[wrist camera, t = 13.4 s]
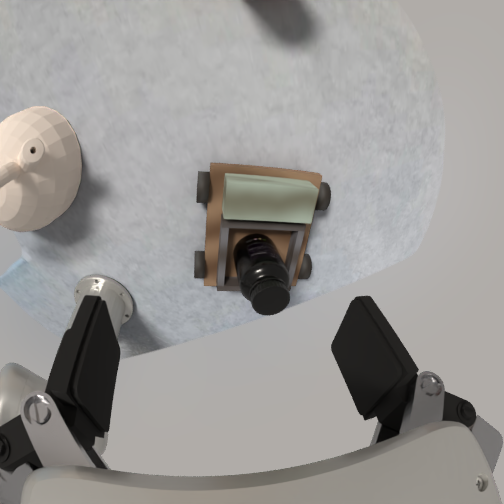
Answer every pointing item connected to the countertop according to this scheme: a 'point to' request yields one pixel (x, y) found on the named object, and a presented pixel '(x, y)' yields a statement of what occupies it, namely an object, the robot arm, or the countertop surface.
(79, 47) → the countertop surface
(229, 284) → the toy truck
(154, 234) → the countertop surface
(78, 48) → the countertop surface
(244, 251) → the supplement bottle
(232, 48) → the countertop surface
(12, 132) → the kettle
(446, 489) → the robot arm
